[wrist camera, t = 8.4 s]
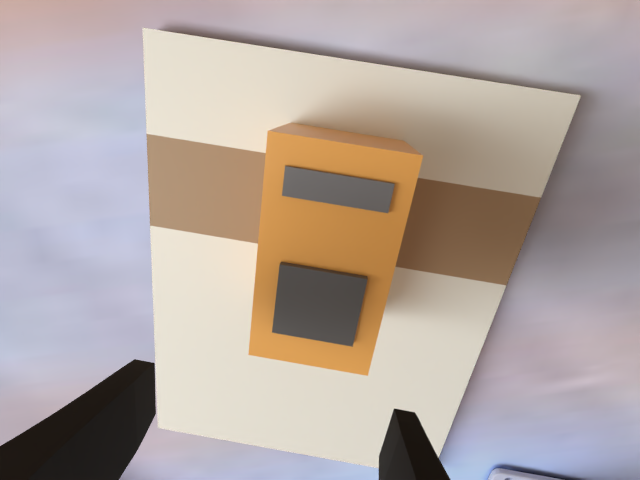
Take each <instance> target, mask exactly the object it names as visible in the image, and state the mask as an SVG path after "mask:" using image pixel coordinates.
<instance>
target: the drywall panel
mask: <svg viewBox="0 0 640 480" xmlns="http://www.w3.org/2000/svg"><path fill="white" fill-rule="evenodd" d="M143 51H144V77H145V103H146V129H147V155H148V181H149V207H150V233H151V258H152V284H153V310H154V336H155V362H156V388H157V414H158V428H161V429H167V430H172V431H177V432H183V433H188V434H194V435H199V436H205V437H210V438H216V439H221V440H227V441H232V442H238V443H243V444H249V445H254V446H260V447H265V448H271V449H276V450H282V451H287V452H293V453H298V454H304V455H309V456H315V457H320V458H326V459H331V460H337V461H342V462H348V463H353V464H359V465H364V466H370V467H375V468H379V454H380V451H381V448H382V445H383V442H384V439H385V435H386V432H387V429H388V426H389V423H390V420H391V416H392V413H393V410H394V408H395V409H400V410H405V411H411V412H415V413H416V415H417V416H418V418H419V420H420V422H421V425H422V427H423V429H424V431H425V433H426V435H427V437H428V439H429V441H430V443H431V445H432V446H433V448H434V450H435V452H436V454H437V456H438V458H439V456H440V453H441V450H442V448H443V445H444V443H445V440H446V438H447V435H448V433H449V430H450V428H451V425H452V422H453V420H454V417H455V415H456V412H457V410H458V407H459V405H460V402H461V400H462V397H463V395H464V392H465V389H466V387H467V384H468V382H469V379H470V377H471V374H472V372H473V369H474V367H475V364H476V362H477V359H478V356H479V354H480V351H481V349H482V346H483V344H484V341H485V339H486V336H487V334H488V331H489V328H490V326H491V323H492V321H493V318H494V316H495V313H496V311H497V308H498V306H499V303H500V301H501V298H502V295H503V293H504V290H505V288H506V285H507V283H508V280H509V278H510V275H511V273H512V270H513V267H514V265H515V262H516V260H517V257H518V255H519V252H520V250H521V247H522V245H523V242H524V240H525V237H526V234H527V232H528V229H529V227H530V224H531V222H532V219H533V217H534V214H535V212H536V209H537V206H538V204H539V201H540V199H541V196H542V194H543V191H544V189H545V186H546V184H547V181H548V179H549V176H550V173H551V171H552V168H553V166H554V163H555V161H556V158H557V156H558V153H559V151H560V148H561V145H562V143H563V140H564V138H565V135H566V133H567V130H568V128H569V125H570V123H571V120H572V118H573V115H574V112H575V110H576V107H577V105H578V102H579V100H580V97H581V95H575V94H568V93H562V92H556V91H549V90H543V89H536V88H530V87H523V86H517V85H510V84H504V83H497V82H491V81H484V80H478V79H471V78H465V77H458V76H452V75H445V74H439V73H432V72H426V71H419V70H413V69H407V68H400V67H394V66H387V65H381V64H374V63H368V62H361V61H355V60H348V59H342V58H335V57H329V56H322V55H316V54H309V53H303V52H296V51H290V50H283V49H277V48H271V47H264V46H258V45H251V44H245V43H238V42H232V41H225V40H219V39H212V38H206V37H199V36H193V35H186V34H180V33H173V32H167V31H160V30H154V29H147V28H143ZM288 123H296V124H303V125H309V126H315V127H321V128H328V129H334V130H340V131H347V132H353V133H359V134H365V135H372V136H378V137H384V138H390V139H397V140H403V141H405V142H406V143H408V144H409V145H410V146H411V147H413V148H414V149H415V150H417V151H418V152H419V153H421V154H422V155H423V159H422V163H421V167H420V171H419V175H418V179H417V183H416V187H415V191H414V195H413V199H412V203H411V207H410V211H409V214H408V218H407V222H406V226H405V230H404V234H403V238H402V242H401V246H400V250H399V254H398V258H397V262H396V266H395V270H394V274H393V278H392V282H391V286H390V290H389V294H388V298H387V302H386V306H385V310H384V314H383V318H382V322H381V325H380V329H379V333H378V337H377V341H376V345H375V349H374V353H373V357H372V361H371V365H370V369H369V373H368V376H366V375H360V374H354V373H349V372H343V371H337V370H332V369H326V368H320V367H315V366H309V365H303V364H298V363H292V362H286V361H281V360H275V359H269V358H263V357H258V356H252V355H248V354H249V342H250V330H251V319H252V307H253V295H254V284H255V272H256V261H257V249H258V237H259V226H260V214H261V202H262V191H263V179H264V167H265V156H266V144H267V133H268V130H271V129H274V128H277V127H279V126H282V125H285V124H288Z"/></svg>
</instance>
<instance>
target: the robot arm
mask: <svg viewBox="0 0 640 480" xmlns="http://www.w3.org/2000/svg"><path fill="white" fill-rule="evenodd" d="M155 414H156V407H155V366H154V363H151V362H146V361H140V360H135V359H134V360H133V361H131V362H130V363H128V364H127V365H125V366H124V367H122V368H121V369H119V370H118V371H116V372H115V373H114V374H112V375H111V376H109V377H108V378H106V379H105V380H103V381H102V382H100V383H99V384H98V385H96V386H95V387H93V388H92V389H90V390H89V391H87V392H86V393H84V394H83V395H81V396H80V397H78V398H77V399H75V400H74V401H72V402H71V403H69V404H68V405H66V406H65V407H63V408H62V409H60V410H59V411H57V412H55V413H54V414H52V415H51V416H49V417H48V418H46V419H44V420H43V421H41V422H39V423H38V424H36V425H35V426H33V427H31V428H30V429H28V430H26V431H25V432H23V433H22V434H20V435H18V436H17V437H15V438H13V439H12V440H10V441H8V442H7V443H5V444H3V445H1V446H0V480H119V478H120V477H121V475H122V473H123V472H124V470H125V469H126V467H127V466H128V464H129V463H130V461H131V459H132V458H133V456H134V455H135V453H136V451H137V450H138V448H139V446H140V444H141V442H142V440H143V438H144V436H145V434H146V433H147V430H148V428H149V426H150V424H151V422H152V420H153V418H154V416H155ZM379 480H450V478H449V476H448V475H447V473H446V471H445V469H444V467H443V465H442V464H441V462H440V460H439V458H438V456H437V454H436V452H435V450H434V448H433V446H432V445H431V443H430V441H429V439H428V437H427V435H426V433H425V431H424V429H423V427H422V425H421V422H420V420H419V418H418V416H417V415H416V413H415V412H411V411H405V410H400V409H395V408H394V410H393V413H392V416H391V420H390V423H389V426H388V429H387V432H386V435H385V439H384V442H383V445H382V448H381V451H380V454H379ZM488 480H563V479H557V478H552V477H546V476H541V475H535V474H529V473H524V472H518V471H513V470H507V469H502V468H497V469H494V470H493V471H492V472H491V474H490V476H489V478H488Z"/></svg>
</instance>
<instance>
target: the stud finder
mask: <svg viewBox="0 0 640 480" xmlns="http://www.w3.org/2000/svg"><path fill="white" fill-rule="evenodd" d="M422 159H423V155H422V154H421V153H419V152H418V151H417V150H415V149H414V148H413V147H411V146H410V145H409V144H408V143H406V142H405V141H403V140H397V139H390V138H384V137H378V136H372V135H365V134H359V133H353V132H347V131H340V130H334V129H328V128H321V127H315V126H309V125H303V124H296V123H288V124H285V125H282V126H279V127H277V128H274V129H271V130H268V133H267V144H266V156H265V167H264V179H263V191H262V202H261V214H260V226H259V237H258V249H257V261H256V272H255V284H254V295H253V307H252V319H251V330H250V342H249V354H248V355H252V356H258V357H263V358H269V359H275V360H281V361H286V362H292V363H298V364H303V365H309V366H315V367H320V368H326V369H332V370H337V371H343V372H349V373H354V374H360V375H366V376H368V373H369V369H370V365H371V361H372V357H373V353H374V349H375V345H376V341H377V337H378V333H379V329H380V325H381V322H382V318H383V314H384V310H385V306H386V302H387V298H388V294H389V290H390V286H391V282H392V278H393V274H394V270H395V266H396V262H397V258H398V254H399V250H400V246H401V242H402V238H403V234H404V230H405V226H406V222H407V218H408V214H409V211H410V207H411V203H412V199H413V195H414V191H415V187H416V183H417V179H418V175H419V171H420V167H421V163H422Z"/></svg>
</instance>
